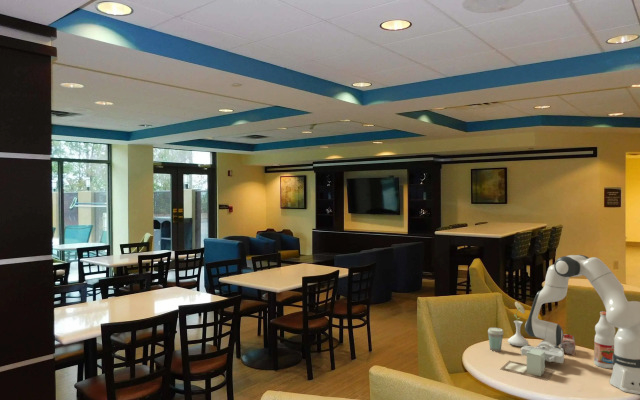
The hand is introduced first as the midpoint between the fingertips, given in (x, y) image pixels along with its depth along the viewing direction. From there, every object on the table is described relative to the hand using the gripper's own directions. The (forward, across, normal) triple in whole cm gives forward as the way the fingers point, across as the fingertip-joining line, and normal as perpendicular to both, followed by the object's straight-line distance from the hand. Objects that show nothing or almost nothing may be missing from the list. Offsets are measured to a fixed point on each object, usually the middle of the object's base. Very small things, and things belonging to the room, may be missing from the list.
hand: (538, 358), depth 232 cm
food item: (-42, +5, +7) cm, 43 cm away
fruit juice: (-31, +25, +7) cm, 40 cm away
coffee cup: (-18, -27, +7) cm, 33 cm away
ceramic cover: (+5, 0, +6) cm, 8 cm away
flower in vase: (-37, -20, +7) cm, 42 cm away
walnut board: (+5, -4, +6) cm, 9 cm away
